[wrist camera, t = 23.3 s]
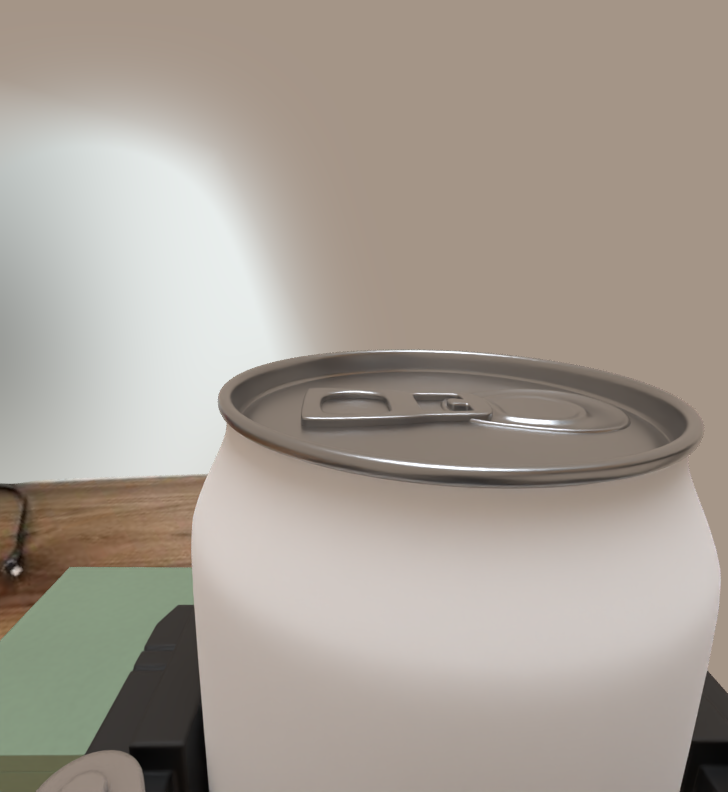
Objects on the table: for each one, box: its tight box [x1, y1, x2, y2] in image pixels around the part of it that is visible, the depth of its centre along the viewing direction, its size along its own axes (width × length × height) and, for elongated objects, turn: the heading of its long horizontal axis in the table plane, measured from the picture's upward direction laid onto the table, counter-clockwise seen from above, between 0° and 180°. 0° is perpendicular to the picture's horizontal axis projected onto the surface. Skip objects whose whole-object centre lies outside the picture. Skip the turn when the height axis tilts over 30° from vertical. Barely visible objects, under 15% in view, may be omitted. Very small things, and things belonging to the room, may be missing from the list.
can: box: [191, 349, 721, 792], centre depth 8 cm, size 6×6×12 cm
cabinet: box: [0, 567, 194, 792], centre depth 30 cm, size 11×14×10 cm
